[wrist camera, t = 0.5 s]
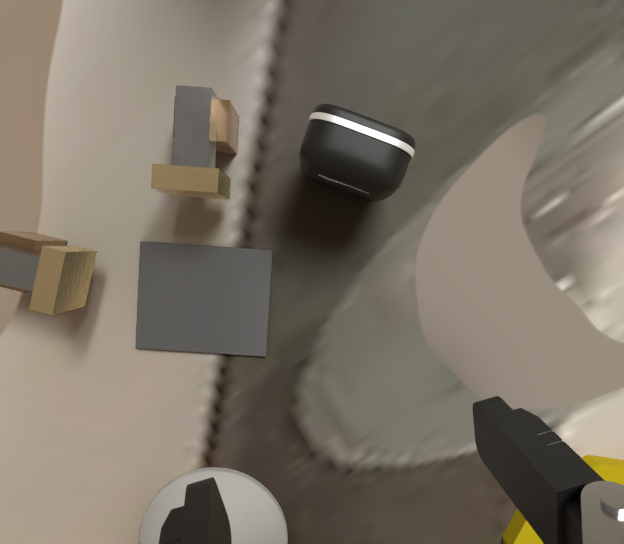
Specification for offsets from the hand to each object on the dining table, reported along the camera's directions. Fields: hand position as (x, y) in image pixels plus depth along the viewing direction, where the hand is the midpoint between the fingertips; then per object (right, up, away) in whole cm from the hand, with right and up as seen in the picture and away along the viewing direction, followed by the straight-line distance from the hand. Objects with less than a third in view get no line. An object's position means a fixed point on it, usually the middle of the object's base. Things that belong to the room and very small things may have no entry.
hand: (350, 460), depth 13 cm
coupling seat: (-10, +3, +24) cm, 27 cm away
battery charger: (+1, +14, +24) cm, 28 cm away
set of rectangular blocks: (-16, +11, +24) cm, 31 cm away
